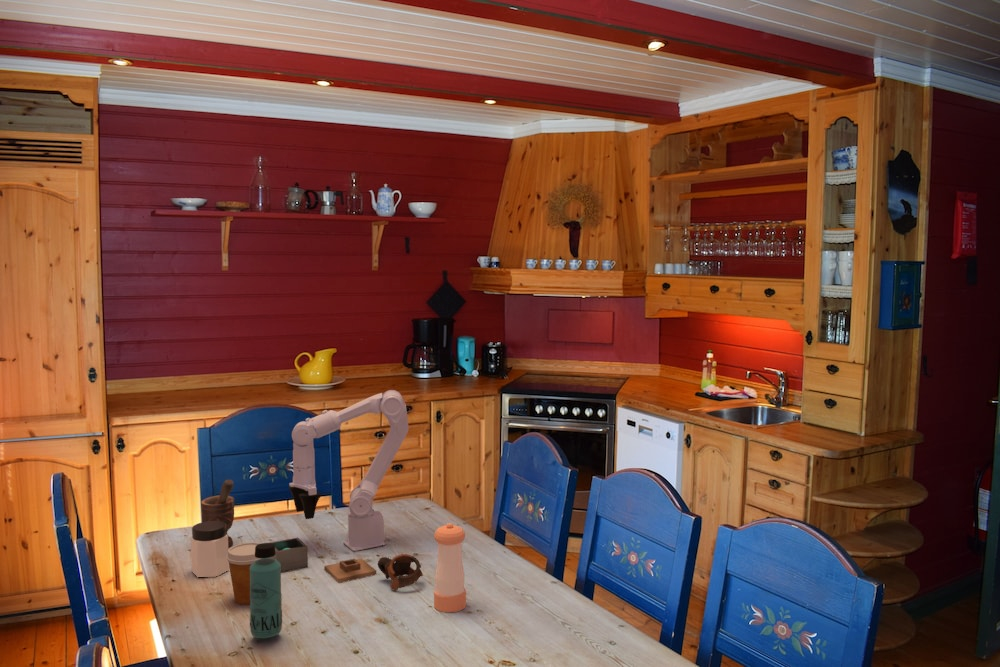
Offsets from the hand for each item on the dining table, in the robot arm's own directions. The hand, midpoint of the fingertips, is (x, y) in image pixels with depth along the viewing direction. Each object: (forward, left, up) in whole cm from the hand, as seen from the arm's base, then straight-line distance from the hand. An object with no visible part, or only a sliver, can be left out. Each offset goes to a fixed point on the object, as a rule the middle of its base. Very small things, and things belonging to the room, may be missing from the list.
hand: (304, 514), depth 216 cm
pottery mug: (-12, +36, -10) cm, 39 cm away
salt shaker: (-16, +54, -10) cm, 57 cm away
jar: (+26, +4, -10) cm, 28 cm away
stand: (-4, +23, -9) cm, 25 cm away
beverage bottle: (+24, +48, -10) cm, 55 cm away
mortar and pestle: (+19, -13, -10) cm, 25 cm away
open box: (+8, +10, -9) cm, 16 cm away
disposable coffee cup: (+22, +26, -10) cm, 35 cm away
